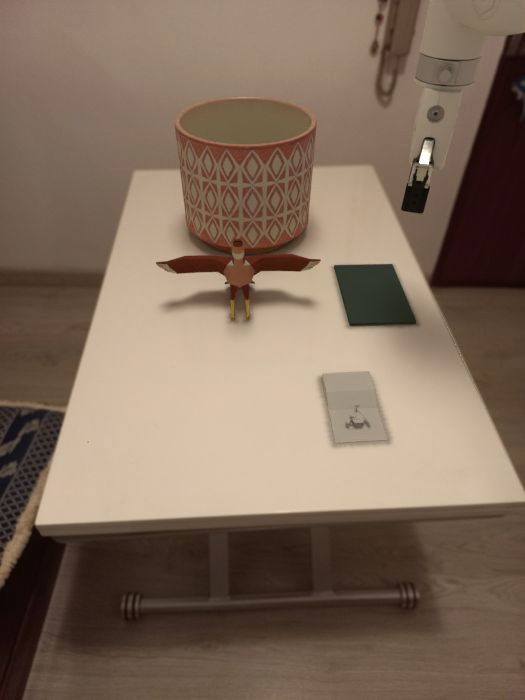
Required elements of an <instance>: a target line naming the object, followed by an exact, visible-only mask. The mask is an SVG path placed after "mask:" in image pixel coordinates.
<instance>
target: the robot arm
mask: <svg viewBox="0 0 525 700" xmlns="http://www.w3.org/2000/svg"><path fill="white" fill-rule="evenodd" d="M524 33H525V0H429V3H428V8H427V13H426V18H425V23H424V27H423V33H422V37H421V42H420V47H419V52H418V56H417V61H416V67H415V71H414V72H415V73H414V76H413V83H414V84H415V85H417V86H419V87H420V93H419V97H418V103H417V106H416V107H417V108H416V113H415V118H414V123H413V128H412V134H411V141H410V147H409V156H408V157H409V158H408V165H409V166H410V167H411V168H410V171H409V176H408V181H407V182H406V186H405V190H404V194H403V199H402V203H401V207H400V210H401V211H402V212H407V213H413V214H419V215H422V214H423V213H424V211H425V208H426V205H427V201H428V197H429V193H430V190H431V185H430V184H431V183H430V182H431V179H432V175H433V170H434V169H438V171H442V170H444V169H445V165H446V161H447V158H448V154H449V150H450V147H451V142H452V139H453V134H454V132H455V128H456V124H457V120H458V117H459V113H460V108H461V104H462V100H463V94H464V91H466V90H470V89H472V88H473V87H474V85H475V82H476V78H477V75H478V73H479V72H478V71H479V68H480V64H481V61H482V57H483V54H484V50H485V47H486V43H487V40H488V37H505V36H513V35H520V34H524Z"/></svg>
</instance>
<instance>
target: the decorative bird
mask: <svg viewBox="0 0 525 700" xmlns="http://www.w3.org/2000/svg"><path fill="white" fill-rule="evenodd" d="M231 249H232V252H231V256H224V255H218V254H217V255H216V254H213V255H210V254H207V255H206V254H204V255H203V254H202V255H201V254H200V255H183V256H179V257H177V258H173V259H169V260H163V261H156V262H155V265H156V266H157V267H159V268H160V269H162V270H164V271H165V272H167V273H171V274H177V275H183V274H195V273H219V274H221V275H222V276H223V277H224V278H225V279H226V281H225V282H224V285H229V297H230V311H231V315H230V317H229V320H237V319H238V318H237V317H236V316H235V303H236V302H235V301H236V295H237V293H238V289H241V291H242V294H243V297H244V300H245V301H244V303H245V313H246V314H245V316H244V317H243V320H244V319H246V320H248V319H250V320H251V319H252V317H251V316H250V285H251V284H253V285H255V284H256V282H255V281H254V280H253V278H254V276H256V275H257V274H259V273H261V272H296V273H297V272H305V271H309V270H311V269H313V268H314V267H316V266H317V265H319V264H320V262H322V261H321V260H322V259H320V258H308V257H305V256H301V255H297V254H293V253H272V254H271V253H269V254H262V253H261V254H256V255H251V256H246V254H244V249H245V245H244V243H243V241H242V240H241V239H235V240H234V241H233V243H232V245H231Z"/></svg>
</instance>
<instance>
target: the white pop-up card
mask: <svg viewBox="0 0 525 700" xmlns="http://www.w3.org/2000/svg"><path fill="white" fill-rule="evenodd" d="M321 375H322V376H321V382H322V388H323V391H324V396H325V401H326V405H327V410H328V415H329V419H330V424H331V429H332V433H333V437H334V442H335V444H339V443H358V442H374V441H375V442H376V441H388V438H387V435H386V431H385V428H384V424H383V422H382V418H381V414H380V411H379V408H378V402H377V395H376V388H375V385H374V382H373V379H372V375H371V373H370V371H369V370H367V371H347V372H325V373H322V374H321Z"/></svg>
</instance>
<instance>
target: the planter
mask: <svg viewBox="0 0 525 700" xmlns="http://www.w3.org/2000/svg"><path fill="white" fill-rule="evenodd" d="M174 130H175V131H174V132H175V141H176V148H177V157H178V165H179V172H180V181H181V189H182V198H183V207H184V216H185V221H186V223H185V224H186V226H187V228H188V229H189V231H190V233H192V234H193V235H194V236H195V237H196V238H197V239H200V240H201V241H203V242H205V243H207V244H208V245H210V246H212V247H213V248H215V249H217V250H221V251H223V252H227V253H232V249H231V245H232V243H233V241H234V240H235V239H241V240H242V241H243V243H244V245H245V249H244V255H247V254H248V255H250V254H251V255H254V254H262V253H266V252H270V251H274V250H276V249H279V248H281V247H282V246H284V245H285V244H287V243H289V242H291V241H293V240H294V239H296V238H297V237H299V236H300V235H301V234H303V232H304V231H305V230H306V228H307V226H308V224H309V218H310V217H309V215H310V206H311V205H310V204H311V191H312V182H313V180H312V179H313V172H314V171H313V170H314V160H315V149H316V148H315V147H316V137H317V118H316V116H315V115H314V113H313V112H312V111H310V110H309V109H307V108H306V107H304V106H302V105H300V104H297V103H294V102H291V101H288V100H283V99H280V98H275V97H265V96H250V95H249V96H247V95H244V96H243V95H241V96H239V95H238V96H225V97H218V98H213V99H207V100H203V101H200V102H197V103H194V104H192V105H189V106H187V107H185V108H184V109H182V110H181V111H179V112H178V114H177V115H176V116H175V118H174Z"/></svg>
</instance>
